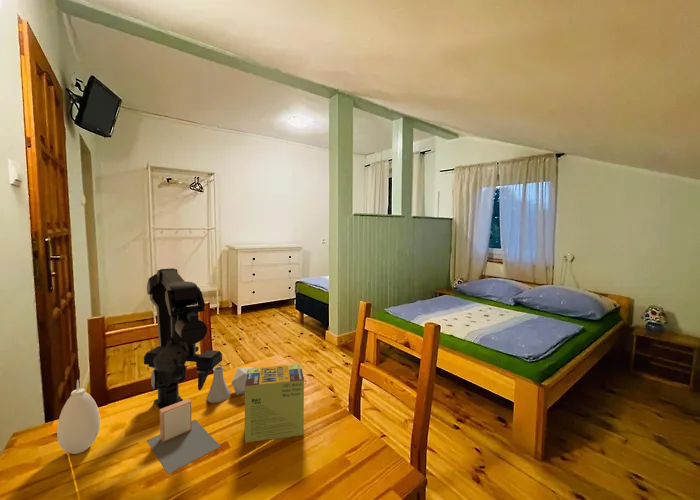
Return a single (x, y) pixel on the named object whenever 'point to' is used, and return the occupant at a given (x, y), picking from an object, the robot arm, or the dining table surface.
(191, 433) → the mat
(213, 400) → the flask
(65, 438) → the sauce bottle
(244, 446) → the dining table surface
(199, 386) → the robot arm
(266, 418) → the protein box
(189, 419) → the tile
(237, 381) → the pale grey faceted chunk
